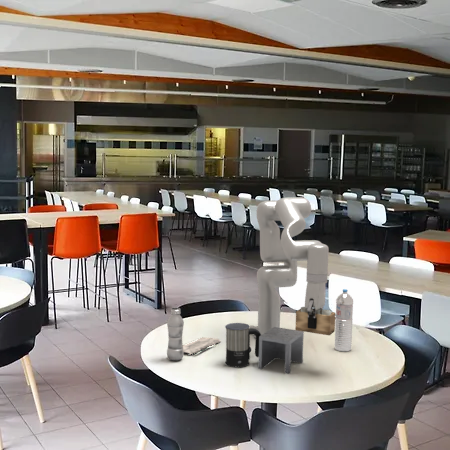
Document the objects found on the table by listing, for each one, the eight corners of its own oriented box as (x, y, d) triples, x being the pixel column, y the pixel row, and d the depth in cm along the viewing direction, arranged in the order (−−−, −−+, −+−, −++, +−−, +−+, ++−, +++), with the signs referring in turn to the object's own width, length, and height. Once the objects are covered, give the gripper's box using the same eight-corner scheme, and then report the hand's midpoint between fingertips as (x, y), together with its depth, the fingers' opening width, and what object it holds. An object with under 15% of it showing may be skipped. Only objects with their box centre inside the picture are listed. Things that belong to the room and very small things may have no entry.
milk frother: (231, 369, 234) (232, 330, 232) (213, 356, 248) (213, 319, 246) (264, 364, 240) (265, 326, 238) (245, 352, 254) (245, 316, 252)
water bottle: (351, 352, 256) (353, 291, 253) (334, 351, 257) (336, 290, 254) (351, 347, 263) (353, 288, 260) (334, 346, 264) (336, 287, 261)
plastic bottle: (186, 358, 245) (186, 307, 243) (179, 363, 239) (180, 311, 237) (171, 356, 247) (171, 306, 245) (163, 361, 241) (164, 310, 239)
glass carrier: (295, 330, 232) (296, 308, 231) (300, 326, 237) (301, 305, 236) (329, 335, 226) (330, 313, 225) (334, 331, 231) (335, 309, 230)
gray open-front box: (258, 368, 235) (259, 336, 234) (273, 357, 248) (274, 326, 247) (288, 374, 230) (289, 341, 228) (302, 362, 243) (303, 331, 242)
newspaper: (194, 358, 247) (193, 352, 247) (169, 356, 253) (169, 350, 253) (225, 344, 266) (225, 338, 266) (201, 342, 272) (201, 336, 272)
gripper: (314, 272, 239) (312, 319, 241) (298, 280, 223) (297, 330, 226) (334, 274, 235) (332, 322, 237) (319, 283, 220) (317, 333, 222)
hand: (315, 325), depth 231 cm, fingers closed on glass carrier, 6 cm apart
